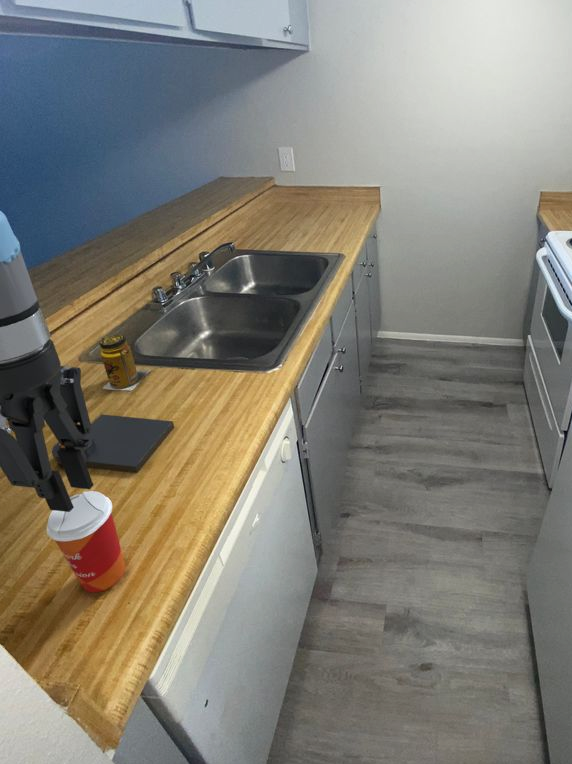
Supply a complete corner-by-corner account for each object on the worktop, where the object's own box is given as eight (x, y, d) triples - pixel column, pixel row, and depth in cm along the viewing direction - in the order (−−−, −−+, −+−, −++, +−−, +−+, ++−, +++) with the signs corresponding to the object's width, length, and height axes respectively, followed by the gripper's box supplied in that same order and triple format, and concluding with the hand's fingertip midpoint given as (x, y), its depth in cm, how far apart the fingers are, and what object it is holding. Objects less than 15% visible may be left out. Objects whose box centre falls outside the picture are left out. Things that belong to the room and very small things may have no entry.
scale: (49, 469, 89) (43, 455, 87) (100, 420, 101) (95, 407, 100) (133, 478, 88) (129, 464, 86) (174, 427, 100) (171, 414, 99)
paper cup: (69, 570, 71) (40, 506, 65) (126, 542, 76) (103, 479, 69) (79, 611, 66) (47, 545, 60) (138, 579, 71) (115, 514, 64)
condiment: (101, 389, 111) (87, 345, 105) (123, 369, 118) (111, 327, 113) (132, 391, 111) (119, 347, 105) (151, 371, 118) (140, 329, 113)
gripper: (36, 313, 60) (87, 451, 71) (-95, 388, 46) (-6, 547, 56) (92, 317, 59) (135, 456, 70) (-23, 394, 45) (53, 554, 56)
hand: (72, 496), depth 63 cm, fingers open, 3 cm apart
